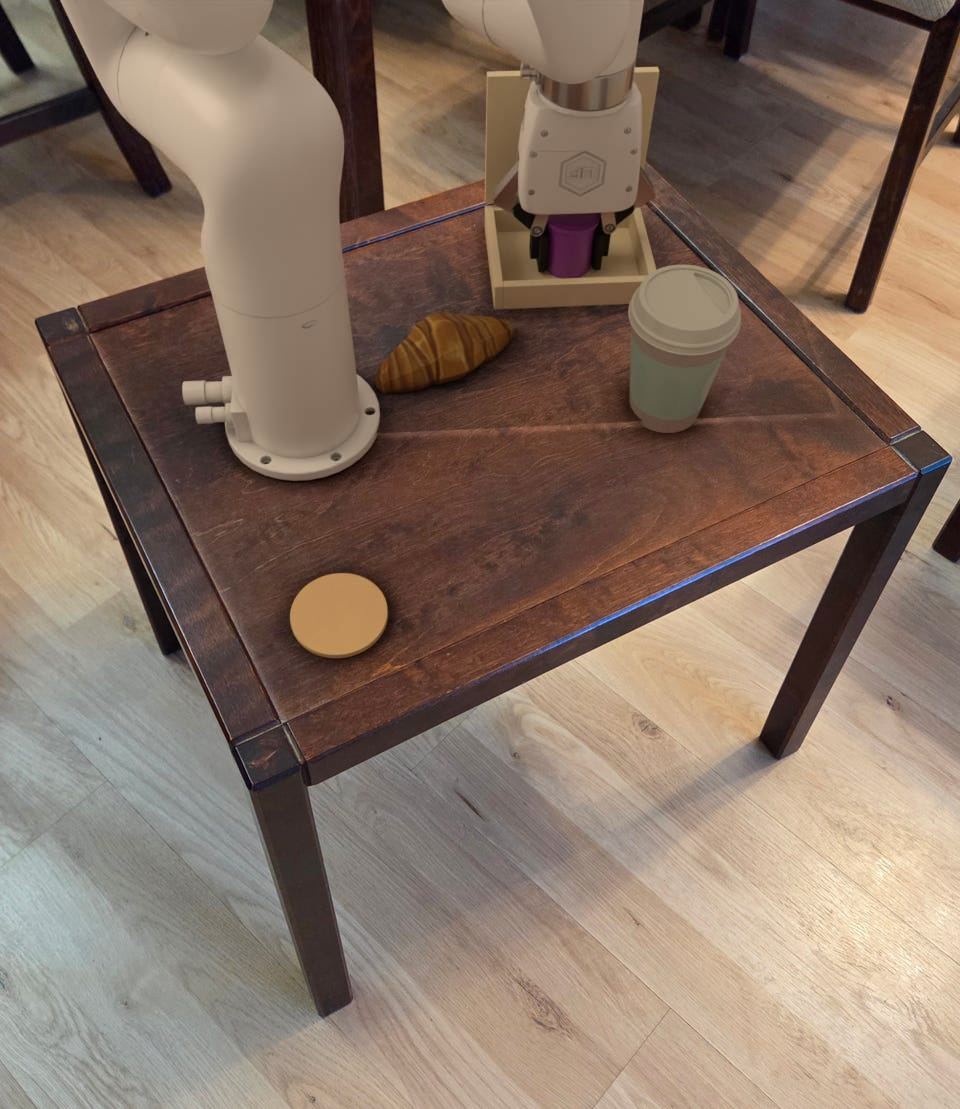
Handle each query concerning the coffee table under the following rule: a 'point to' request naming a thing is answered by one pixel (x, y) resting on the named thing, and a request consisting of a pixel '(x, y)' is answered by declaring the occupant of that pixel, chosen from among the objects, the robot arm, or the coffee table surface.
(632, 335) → the coffee cup
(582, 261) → the coffee pod
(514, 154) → the box lid
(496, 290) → the shallow wooden crate
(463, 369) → the croissant
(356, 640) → the coaster
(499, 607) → the coffee table surface
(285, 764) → the coffee table surface
